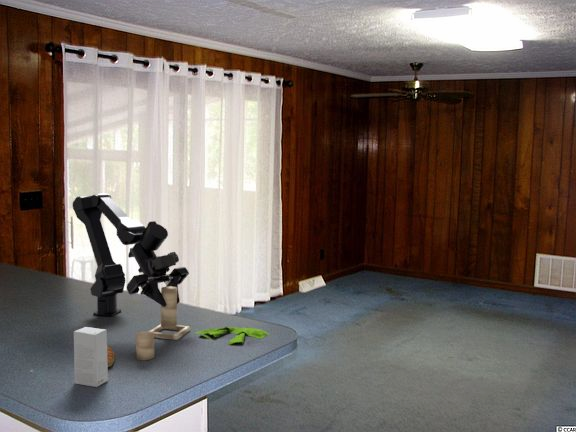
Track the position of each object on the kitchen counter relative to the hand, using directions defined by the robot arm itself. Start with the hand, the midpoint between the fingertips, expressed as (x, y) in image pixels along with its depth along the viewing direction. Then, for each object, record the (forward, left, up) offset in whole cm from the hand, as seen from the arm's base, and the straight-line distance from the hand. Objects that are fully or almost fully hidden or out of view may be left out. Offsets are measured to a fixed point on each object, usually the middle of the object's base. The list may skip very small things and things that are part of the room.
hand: (171, 304), depth 164 cm
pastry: (+25, -7, -9) cm, 28 cm away
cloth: (-3, +16, -10) cm, 19 cm away
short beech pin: (+19, +2, -9) cm, 21 cm away
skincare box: (+37, -2, -9) cm, 38 cm away
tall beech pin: (-1, -1, -7) cm, 7 cm away
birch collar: (-1, -1, -9) cm, 9 cm away
